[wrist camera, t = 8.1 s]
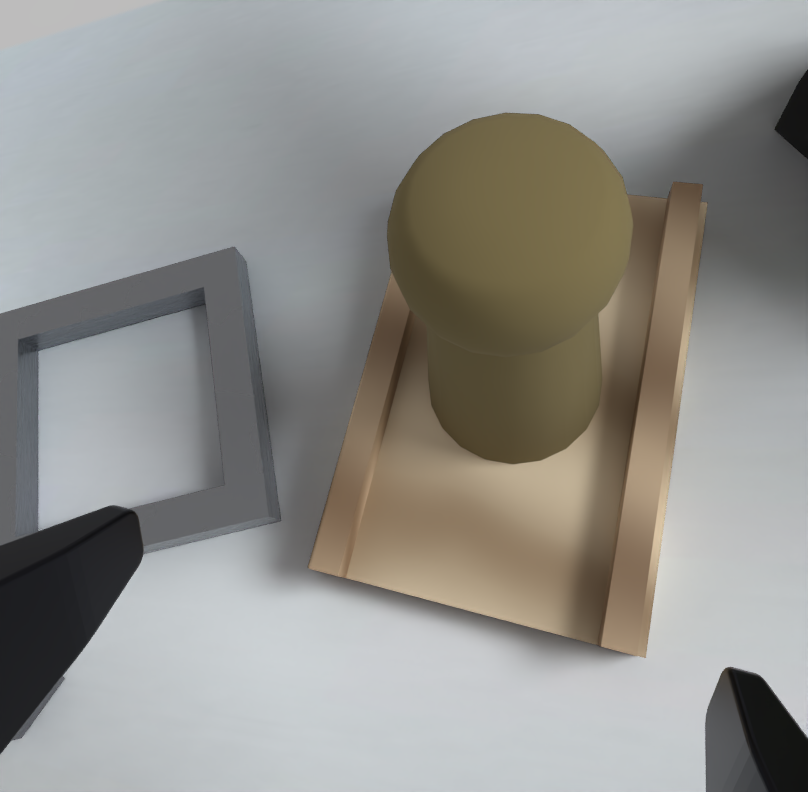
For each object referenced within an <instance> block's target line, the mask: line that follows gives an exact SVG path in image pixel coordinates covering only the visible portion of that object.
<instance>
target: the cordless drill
mask: <svg viewBox="0 0 808 792" xmlns="http://www.w3.org/2000/svg"><path fill="white" fill-rule="evenodd" d="M775 130H776V131H777V132H778V133H780V134H781V135H782V136H783V137H784V138H785V139H786V140H787V141H789V142H790V143H791V144H792V145H793V146H794V147H795V148H796V149H797V150H799V151H800V152H801V153H802V154H803V155H804V156H805V157H806V158H808V70H807V71H806V73H805V74H804V75H803V77H802V78H801V80H800V81H799V83H798V85H797V86H796V88H795V90H794V92H793V94H792V96H791V98H790V100H789V102H788V104H787V106H786V108H785V110H784V112H783V114H782V116H781V118H780V120H779V122H778V123H777V125H776V127H775Z"/></svg>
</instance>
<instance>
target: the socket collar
mask: <svg viewBox="0 0 808 792" xmlns="http://www.w3.org/2000/svg"><path fill="white" fill-rule="evenodd" d="M202 304H206V311H207V321H208V331H209V340H210V350H211V359H212V369H213V378H214V388H215V398H216V407H217V417H218V426H219V436H220V445H221V455H222V465H223V474H224V484H225V485H223V486H219V487H215V488H211V489H207V490H203V491H199V492H195V493H191V494H187V495H183V496H179V497H175V498H171V499H167V500H163V501H159V502H155V503H151V504H147V505H143V506H139V507H135V508H130V509H131V510H133V511H135V512H136V513H137V515H138V517H139V523H140V529H141V534H142V540H143V546H144V553H143V554H145V553H149V552H153V551H158V550H162V549H166V548H170V547H174V546H178V545H182V544H187V543H191V542H195V541H199V540H203V539H207V538H212V537H216V536H220V535H224V534H228V533H232V532H237V531H241V530H245V529H249V528H253V527H257V526H261V525H266V524H270V523H274V522H278V521H281V518H280V511H279V503H278V496H277V488H276V481H275V473H274V466H273V458H272V451H271V443H270V436H269V428H268V421H267V413H266V406H265V398H264V391H263V383H262V376H261V368H260V361H259V354H258V346H257V339H256V331H255V324H254V316H253V309H252V301H251V294H250V286H249V279H248V271H247V264H246V261H245V259H244V258H243V257H242V255H241V254H240V253H239V252H238V250H237V249H236V248H235V247H231V248H228V249H224V250H221V251H217V252H214V253H210V254H207V255H203V256H200V257H196V258H193V259H189V260H186V261H182V262H179V263H175V264H172V265H168V266H165V267H161V268H158V269H154V270H151V271H147V272H144V273H141V274H137V275H134V276H130V277H127V278H123V279H120V280H116V281H113V282H109V283H106V284H102V285H99V286H95V287H92V288H88V289H85V290H81V291H78V292H74V293H71V294H67V295H64V296H60V297H57V298H53V299H50V300H46V301H43V302H39V303H36V304H32V305H29V306H26V307H22V308H19V309H15V310H12V311H8V312H5V313H1V314H0V545H3V544H5V543H8V542H11V541H14V540H16V539H19V538H22V537H25V536H27V535H30V534H33V533H36V532H39V531H38V350H41V349H45V348H48V347H52V346H55V345H59V344H63V343H66V342H70V341H73V340H77V339H81V338H84V337H88V336H91V335H95V334H98V333H102V332H106V331H109V330H113V329H116V328H120V327H124V326H127V325H131V324H134V323H138V322H141V321H145V320H149V319H152V318H156V317H159V316H163V315H167V314H170V313H174V312H177V311H181V310H185V309H188V308H192V307H195V306H199V305H202Z"/></svg>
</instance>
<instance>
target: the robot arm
mask: <svg viewBox="0 0 808 792" xmlns="http://www.w3.org/2000/svg"><path fill="white" fill-rule="evenodd" d="M143 553H144V546H143V540H142V534H141V529H140V523H139V517H138V515H137V513H136V512H135V511H133V510H131V509H127V508H124V507H120V506H114V505H112V506H108V507H105V508H102V509H99V510H97V511H94V512H91V513H88V514H85V515H83V516H80V517H77V518H74V519H72V520H69V521H66V522H63V523H61V524H58V525H55V526H52V527H50V528H47V529H44V530H41V531H39V532H36V533H33V534H30V535H27V536H25V537H22V538H19V539H16V540H14V541H11V542H8V543H5V544H3V545H0V754H1V753H2V752H3V750H4V749H5V748H6V747H7V745H8V744H9V743H10V741H11V740H12V739H13V738H14V736H15V735H16V734H17V733H18V731H19V730H20V729H21V728H22V726H23V725H24V724H25V723H26V721H27V720H28V719H29V718H30V716H31V715H32V714H33V712H34V711H35V710H36V709H37V707H38V706H39V705H40V704H41V702H42V701H43V700H44V699H45V697H46V696H47V695H48V694H49V692H50V691H51V690H52V688H53V687H54V686H55V685H56V683H57V682H58V681H59V680H60V678H61V677H62V676H63V675H64V673H65V672H66V671H67V670H68V668H69V667H70V666H71V665H72V663H73V662H74V661H75V659H76V658H77V657H78V656H79V654H80V653H81V652H82V650H83V649H84V648H85V646H86V645H87V644H88V642H89V641H90V639H91V638H92V637H93V635H94V634H95V632H96V631H97V629H98V628H99V626H100V625H101V623H102V622H103V620H104V619H105V617H106V615H107V614H108V612H109V611H110V609H111V608H112V606H113V605H114V603H115V602H116V600H117V599H118V597H119V595H120V594H121V592H122V591H123V589H124V588H125V586H126V585H127V583H128V582H129V580H130V579H131V577H132V575H133V574H134V572H135V571H136V569H137V568H138V566H139V564H140V563H141V560H142V557H143ZM705 749H706V792H808V737H807V736H806V735H805V733H804V732H803V731H802V729H801V728H800V727H799V725H798V724H797V723H796V721H795V720H794V719H793V717H792V716H791V715H790V713H789V712H788V711H787V709H786V708H785V707H784V705H783V704H782V703H781V701H780V700H779V699H778V697H777V696H776V695H775V693H774V692H773V691H772V689H771V688H770V686H769V685H768V684H767V682H766V681H765V680H764V679H763V678H762V677H761V676H760V675H758V674H756V673H752V672H748V671H745V670H741V669H737V668H733V667H727V668H725V669H724V671H723V672H722V674H721V676H720V678H719V681H718V683H717V686H716V688H715V691H714V693H713V696H712V698H711V701H710V703H709V706H708V709H707V713H706V722H705Z"/></svg>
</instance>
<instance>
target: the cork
mask: <svg viewBox="0 0 808 792" xmlns="http://www.w3.org/2000/svg"><path fill="white" fill-rule="evenodd" d="M632 232H633V219H632V213H631V208H630V204H629V200H628V196H627V192H626V188H625V185H624V181H623V177H622V176H621V174H620V173H619V172H618V170H617V169H616V167H615V166H614V165H613V163H612V162H611V160H610V159H609V158H608V156H607V155H606V153H605V152H604V151H603V150H602V149H601V148H600V147H599V146H598V145H597V144H596V143H595V142H594V141H592V140H591V139H589V138H588V137H586V136H585V135H584V134H582V133H581V132H579V131H578V130H577V129H575V128H574V127H572V126H571V125H569V124H567V123H564V122H560V121H557V120H554V119H551V118H548V117H545V116H542V115H539V114H520V113H502V114H497V115H493V116H488V117H483V118H478V119H473V120H471V121H469V122H467V123H465V124H463V125H461V126H459V127H457V128H455V129H453V130H451V131H449V132H446V133H444V134H443V135H442V136H441V137H440V138H438V139H437V140H436V141H435V142H434V143H433V144H431V145H430V146H429V147H428V148H427V149H426V150H425V151H423V152H422V153H421V154H420V155H419V156H418V158H417V159H416V161H415V162H414V163H413V165H412V166H411V168H410V169H409V171H408V173H407V174H406V176H405V177H404V179H403V180H402V182H401V184H400V185H399V187H398V188H397V190H396V192H395V196H394V200H393V204H392V208H391V212H390V216H389V219H388V229H387V241H388V251H389V261H390V269H391V271H392V273H393V276H394V278H395V280H396V282H397V284H398V286H399V289H400V291H401V293H402V295H403V297H404V299H405V301H406V303H407V305H408V307H409V309H410V310H411V311H412V312H413V313H414V314H415V315H416V316H417V317H418V318H419V319H420V320H421V321H422V322H423V323H425V324H426V328H427V355H428V381H429V390H430V398H431V406H432V408H433V410H434V412H435V414H436V416H437V418H438V420H439V422H440V424H441V426H442V428H443V429H444V430H445V431H446V432H447V433H448V434H449V435H450V436H451V437H452V439H453V440H454V441H455V442H456V443H457V444H458V445H459V446H460V447H462V448H464V449H466V450H468V451H470V452H471V453H473V454H475V455H477V456H479V457H481V458H483V459H485V460H490V461H496V462H502V463H508V464H519V463H527V462H534V461H541V460H543V459H545V458H548V457H550V456H552V455H554V454H556V453H558V452H560V451H562V450H565V449H567V448H568V447H569V446H570V445H571V444H572V443H573V442H574V441H575V440H576V439H577V438H578V437H579V436H580V435H581V434H582V433H583V432H585V431H586V430H587V428H588V426H589V424H590V422H591V420H592V418H593V416H594V414H595V412H596V410H597V409H598V407H599V402H600V394H601V387H602V364H601V348H600V332H599V316H598V313H599V312H600V311H601V310H603V309H604V308H605V307H606V306H607V305H608V303H609V301H610V299H611V297H612V295H613V293H614V292H615V290H616V288H617V286H618V284H619V282H620V280H621V279H622V277H623V275H624V273H625V270H626V267H627V264H628V261H629V255H630V247H631V239H632Z"/></svg>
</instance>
